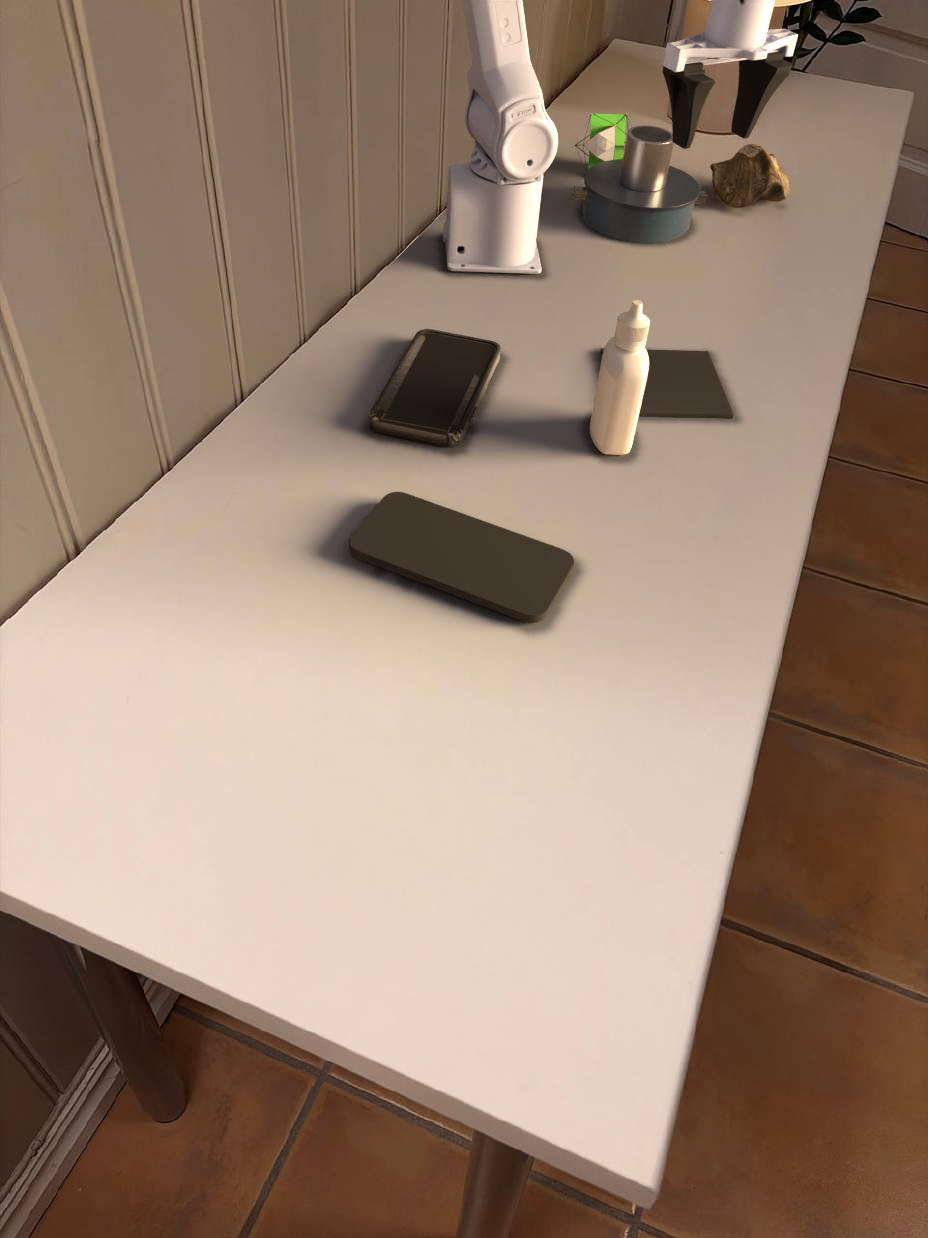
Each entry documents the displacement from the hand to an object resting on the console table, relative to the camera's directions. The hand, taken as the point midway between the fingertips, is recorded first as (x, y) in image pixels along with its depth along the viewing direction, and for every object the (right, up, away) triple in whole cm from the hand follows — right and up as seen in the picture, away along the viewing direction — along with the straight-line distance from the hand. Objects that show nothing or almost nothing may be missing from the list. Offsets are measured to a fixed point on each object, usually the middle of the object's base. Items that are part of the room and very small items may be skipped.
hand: (710, 139), depth 99 cm
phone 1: (-27, -29, -16) cm, 43 cm away
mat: (-7, -28, -13) cm, 32 cm away
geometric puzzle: (-8, +5, +18) cm, 21 cm away
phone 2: (-25, -44, -30) cm, 59 cm away
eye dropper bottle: (-13, -34, -19) cm, 41 cm away
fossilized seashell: (+8, 0, +15) cm, 17 cm away
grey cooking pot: (-6, -4, +10) cm, 12 cm away
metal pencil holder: (-6, -1, +7) cm, 9 cm away
